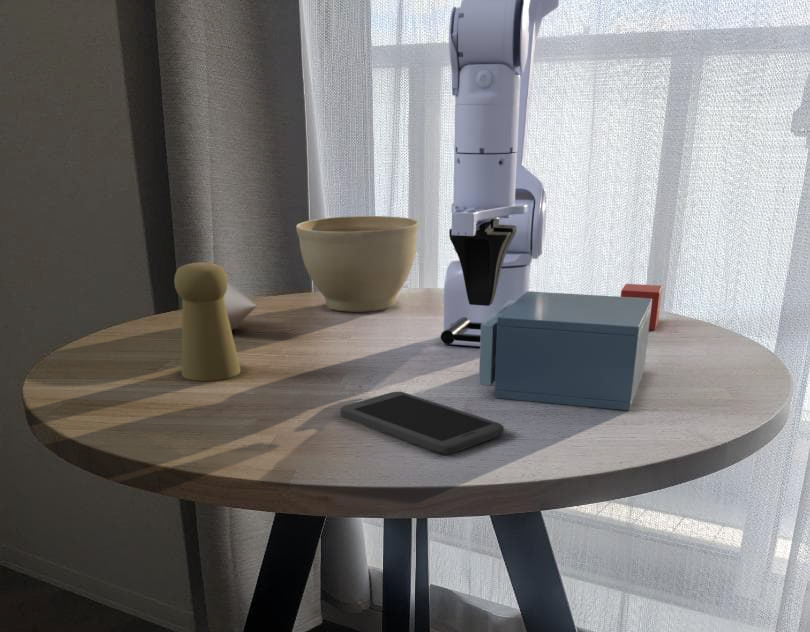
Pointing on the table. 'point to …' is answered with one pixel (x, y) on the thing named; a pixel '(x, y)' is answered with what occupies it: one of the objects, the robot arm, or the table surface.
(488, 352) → the drawer
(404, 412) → the cell phone
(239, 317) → the grey cone
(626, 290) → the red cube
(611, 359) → the cabinet
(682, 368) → the table surface
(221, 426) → the table surface
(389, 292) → the planter bowl
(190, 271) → the cork
